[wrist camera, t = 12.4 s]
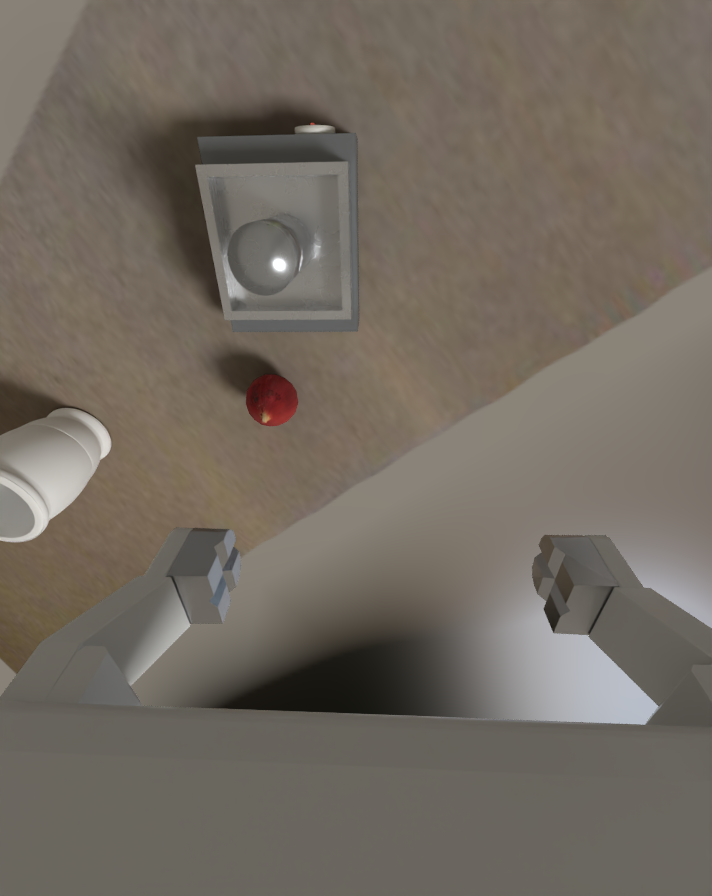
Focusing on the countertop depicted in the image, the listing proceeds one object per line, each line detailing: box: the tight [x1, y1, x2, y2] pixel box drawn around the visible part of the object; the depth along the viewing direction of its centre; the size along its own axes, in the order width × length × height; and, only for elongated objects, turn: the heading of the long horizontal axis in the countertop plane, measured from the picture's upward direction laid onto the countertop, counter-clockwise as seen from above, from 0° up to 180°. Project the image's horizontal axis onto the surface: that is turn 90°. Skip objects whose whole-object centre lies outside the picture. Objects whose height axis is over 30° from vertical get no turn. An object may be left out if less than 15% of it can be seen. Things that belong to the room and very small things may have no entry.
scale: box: [197, 123, 359, 332], centre depth 38 cm, size 13×17×4 cm
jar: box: [0, 408, 111, 542], centre depth 48 cm, size 11×10×15 cm
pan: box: [195, 161, 353, 320], centre depth 35 cm, size 12×12×3 cm
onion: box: [246, 375, 298, 426], centre depth 45 cm, size 6×6×8 cm
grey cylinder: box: [227, 215, 312, 296], centre depth 32 cm, size 5×5×9 cm
